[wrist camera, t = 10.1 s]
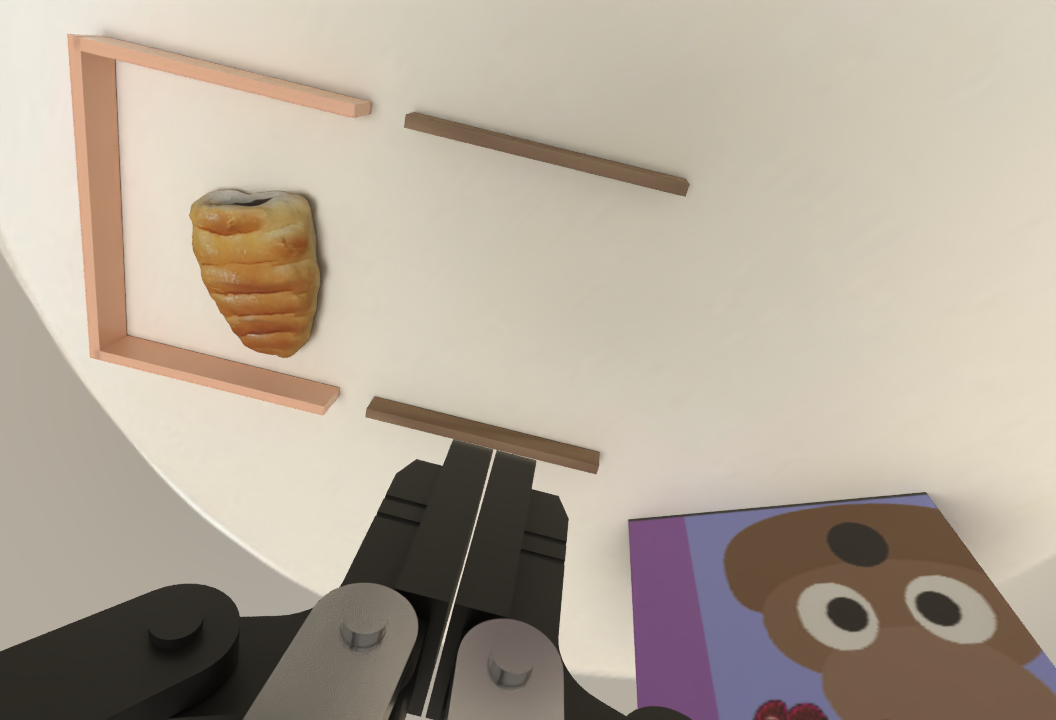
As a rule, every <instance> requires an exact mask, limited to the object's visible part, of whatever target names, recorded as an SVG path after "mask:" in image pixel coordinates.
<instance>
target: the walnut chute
mask: <svg viewBox="0 0 1056 720" xmlns="http://www.w3.org/2000/svg"><path fill="white" fill-rule="evenodd" d="M404 128H408V129H412V130H417V131H421V132H425V133H429V134H433V135H437V136H441V137H445V138H449V139H453V140H457V141H461V142H465V143H469V144H473V145H477V146H482V147H486V148H490V149H494V150H498V151H502V152H506V153H510V154H514V155H518V156H522V157H526V158H530V159H534V160H538V161H542V162H547V163H551V164H555V165H559V166H563V167H567V168H571V169H575V170H579V171H583V172H587V173H591V174H595V175H599V176H603V177H608V178H612V179H616V180H620V181H624V182H628V183H632V184H636V185H640V186H644V187H648V188H652V189H656V190H660V191H664V192H668V193H673V194H677V195H681V196H685V197H686V193H687V190H688V187H689V183H688V181H687V180H686V179H683V178H679V177H675V176H671V175H667V174H663V173H659V172H655V171H651V170H647V169H642V168H638V167H634V166H630V165H626V164H622V163H618V162H614V161H610V160H606V159H602V158H598V157H594V156H590V155H586V154H581V153H577V152H573V151H569V150H565V149H561V148H557V147H553V146H549V145H545V144H541V143H537V142H533V141H529V140H525V139H521V138H516V137H512V136H508V135H504V134H500V133H496V132H492V131H488V130H484V129H480V128H476V127H472V126H468V125H464V124H460V123H455V122H451V121H447V120H443V119H439V118H435V117H431V116H427V115H423V114H419V113H415V112H413V113H410V114H406V117H405V124H404ZM366 417H367V418H371V419H375V420H379V421H383V422H387V423H391V424H396V425H400V426H404V427H408V428H412V429H416V430H420V431H424V432H428V433H432V434H436V435H440V436H444V437H448V438H452V439H456V440H460V441H464V442H468V443H472V444H476V445H480V446H484V447H488V448H492V449H496V450H500V451H504V452H508V453H512V454H516V455H520V456H525V457H529V458H533V459H537V460H541V461H545V462H549V463H553V464H557V465H561V466H565V467H569V468H573V469H577V470H581V471H585V472H589V473H593V474H597V471H598V467H599V452H596V451H592V450H588V449H584V448H580V447H576V446H572V445H568V444H564V443H560V442H556V441H552V440H548V439H544V438H540V437H536V436H532V435H528V434H523V433H519V432H515V431H511V430H507V429H503V428H499V427H495V426H491V425H487V424H483V423H479V422H475V421H471V420H467V419H463V418H459V417H455V416H451V415H447V414H443V413H439V412H435V411H431V410H427V409H423V408H419V407H415V406H411V405H407V404H402V403H398V402H394V401H390V400H386V399H382V398H378V397H374V398H373V400H372V401H371V403H370V404H369V406H368V407H367V409H366Z"/></svg>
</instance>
